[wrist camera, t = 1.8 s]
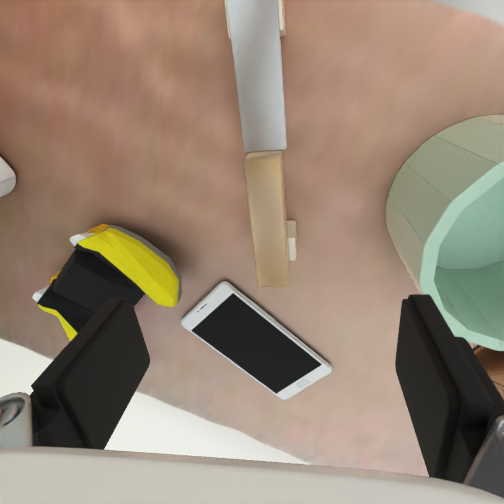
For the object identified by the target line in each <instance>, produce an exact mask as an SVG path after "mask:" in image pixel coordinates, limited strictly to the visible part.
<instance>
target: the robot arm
mask: <svg viewBox="0 0 504 504" xmlns="http://www.w3.org/2000/svg"><path fill="white" fill-rule="evenodd" d="M149 363H150V357H149V353H148V350H147V347H146V344H145V341H144V338H143V335H142V332H141V329H140V326H139V323H138V320H137V317H136V314H135V311H134V308H133V305H132V303H131V302H128V300H127V299H125V298H111V299H108V300H107V301H106V302H105V303H104V304H103V305H102V307H101V308H100V309H99V310H98V311H97V312H96V313H95V314H94V316H93V317H92V318H91V319H90V320H89V321H88V322H87V323H86V325H85V326H84V327H83V328H82V329H81V330H80V331H79V332H78V334H77V335H76V336H75V337H74V338H73V339H72V340H71V341H70V343H69V344H68V345H67V346H66V347H65V348H64V349H63V350H62V351H61V353H60V354H59V355H58V356H57V357H56V358H55V359H54V360H53V362H52V363H51V364H50V365H49V366H48V367H47V368H46V369H45V371H44V372H43V373H42V374H41V375H40V376H39V377H38V378H37V380H36V381H35V382H34V383H33V384H32V385H31V387H32V388H33V390H34V391H33V392H32V393H31V395H30V396H29V395H28V394H26V393H21V392H18V393H12V394H9V395H6V396H4V397H1V398H0V504H504V399H503V398H502V396H501V394H500V393H499V391H498V390H497V388H496V386H495V385H494V383H493V382H492V380H491V378H490V377H489V375H488V374H487V372H486V370H485V369H484V367H483V366H482V364H481V362H480V361H479V359H478V358H477V356H476V354H475V353H474V351H473V350H472V348H471V346H470V345H469V343H468V342H467V340H466V339H465V338H463V337H455V336H454V334H453V333H452V331H451V329H450V328H449V326H448V324H447V322H446V321H445V319H444V317H443V316H442V314H441V312H440V311H439V309H438V307H437V305H436V304H435V302H434V300H433V299H432V297H431V296H430V295H429V294H419V295H409V297H408V299H403V301H402V307H401V316H400V325H399V334H398V343H397V352H396V362H395V365H396V372H397V376H398V379H399V382H400V385H401V388H402V392H403V395H404V398H405V401H406V404H407V407H408V411H409V414H410V417H411V420H412V423H413V426H414V430H415V433H416V436H417V439H418V442H419V446H420V449H421V452H422V455H423V458H424V461H425V465H426V468H427V471H428V474H429V476H430V477H425V476H418V475H411V474H404V473H394V472H383V471H373V470H363V469H352V468H342V467H329V466H317V465H303V464H292V463H278V462H266V461H254V460H240V459H227V458H213V457H199V456H186V455H185V456H184V455H171V454H157V453H144V452H128V451H113V450H104V448H105V446H106V445H107V443H108V441H109V439H110V437H111V435H112V433H113V432H114V429H115V428H116V426H117V424H118V422H119V420H120V419H121V417H122V415H123V413H124V411H125V409H126V408H127V406H128V404H129V402H130V400H131V398H132V396H133V395H134V393H135V391H136V389H137V387H138V385H139V384H140V382H141V380H142V378H143V376H144V374H145V372H146V371H147V369H148V367H149Z"/></svg>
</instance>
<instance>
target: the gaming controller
mask: <svg viewBox="0 0 504 504" xmlns="http://www.w3.org/2000/svg"><path fill="white" fill-rule="evenodd" d="M70 241H71V242H72V243H73V245H74V246H75V247H74V248H76V249H75V251H74V252H73V254H72V255H71V257H70V258H69V260H68V261H67V263H66V264H65V265H64V267H63V268H62V269H61V270H60V271H59V272H57V273H56V274H55V275H54V276H53V277H51V280H50V285H49V286H47V287H45V288H43V289H41V290H39V291H37V292H35V294H34V295H33V297H32V298H33V299H34V300H35V301H36V302H37V304H38V306H39V308H41V309H42V310H44V311H46V312H49V313H52V314H54V315H55V316H57V317H58V318H59V320H60V322H61V324H62V326H63V328H64V330H65V332H66V334H67V336H68V338H69V340H70V341H71V340H72V339H73V338H74V337H75V336H76V335H77V334H78V332H79V331H80V330H81V329H82V328H83V327H84V326H85V325H86V323H87V322H88V321H89V320H90V319H91V318H92V317H93V316H94V314H95V313H96V312H97V311H98V310H99V309H100V308H101V307H102V305H103V304H104V303H105V302H106V301H107V300H108V299H111V298H125V299H127V300H128V302H131V303H132V305H133V307H134V306H135V304H136V303H137V302H138V301H139V300H140V299H141V298H142V297H143V296H144V294H145V293H146V294H147V295H148V296H149V297H150V298H151V299H152V300H154V301H155V302H156V303H157V304H158V305H163V306H168V307H174V306H175V305H176V304H177V303H178V301H179V300H180V297H181V293H182V289H181V275H180V273H179V271H178V270H177V268H176V266H175V265H174V263H173V262H172V260H171V258H169V257H168V256H167V255H165V254H164V253H163V252H161V251H160V250H159V249H158V248H156V247H155V246H154V245H152V244H151V243H150V242H148V241H147V240H146V239H144V238H143V237H141V236H139V235H137V234H135V233H133V232H130V231H128V230H126V229H124V228H122V227H120V226H116V225H106V224H101V225H99V226H96V227H94V228H92V229H90V230H88V231H87V232H86V233H84V234H77V235H75V236H73V237H71V238H70Z"/></svg>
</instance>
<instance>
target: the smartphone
mask: <svg viewBox="0 0 504 504" xmlns="http://www.w3.org/2000/svg"><path fill="white" fill-rule="evenodd" d="M181 325H182V326H183V327H185V328H186V329H187V330H189V331H190V332H191V333H193V334H194V335H195V336H197V337H198V338H200V339H201V340H202V341H204V342H205V343H206V344H208V345H209V346H210V347H212V348H213V349H214V350H216V351H217V352H218V353H220V354H221V355H223V356H224V357H225V358H227V359H228V360H229V361H231V362H232V363H233V364H235V365H236V366H237V367H239V368H240V369H241V370H243V371H244V372H245V373H247V374H248V375H250V376H251V377H252V378H254V379H255V380H256V381H258V382H259V383H260V384H262V385H263V386H264V387H266V388H267V389H268V390H270V391H271V392H272V393H274V394H275V395H277V396H278V397H279V398H280V399H282V400H286V399H288V398H290V397H292V396H293V395H295V394H296V393H298V392H300V391H301V390H303V389H305V388H306V387H308V386H310V385H311V384H313V383H314V382H316V381H318V380H319V379H321V378H323V377H324V376H326V375H327V374H329V373H331V371H332V366H331V365H330V364H329V363H328V362H326V361H325V360H324V359H323V358H321V357H320V356H319V355H318V354H317V353H315V352H314V351H313V350H312V349H310V348H309V347H308V346H307V345H305V344H304V343H303V342H302V341H300V340H299V339H298V338H297V337H296V336H294V335H293V334H292V333H291V332H289V331H288V330H287V329H286V328H284V327H283V326H282V325H281V324H279V323H278V322H277V321H276V320H275V319H274V318H273V317H271V316H270V315H269V314H267V313H266V312H265V311H264V310H263V309H261V308H260V307H259V306H258V305H256V304H255V303H254V302H253V301H252V300H250V299H249V298H247V297H246V296H245V295H244V294H242V293H241V292H240V291H239V290H237V289H236V288H235V287H234V286H233V285H231V284H230V283H229V282H226V281H223V282H221V283H220V284H219V285H217V286H216V287H215V288H214V289H213V290H212V291H211V292H210V293H209V294H208V295H207V296H206V297H205V298H204V299H203V300H202V301H200V302H199V303H198V304H197V305H196V306H195V307H194V308H193V309H192V310H191V311H190V312H189V313H188V314H187V315H186V316H185V317H183V318H182V320H181Z"/></svg>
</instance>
